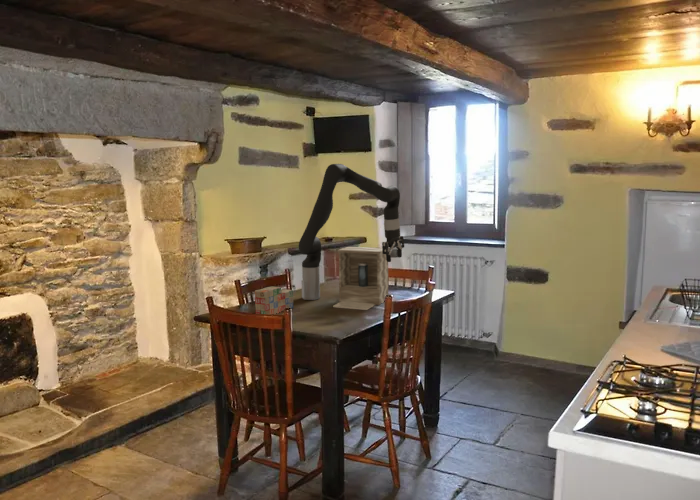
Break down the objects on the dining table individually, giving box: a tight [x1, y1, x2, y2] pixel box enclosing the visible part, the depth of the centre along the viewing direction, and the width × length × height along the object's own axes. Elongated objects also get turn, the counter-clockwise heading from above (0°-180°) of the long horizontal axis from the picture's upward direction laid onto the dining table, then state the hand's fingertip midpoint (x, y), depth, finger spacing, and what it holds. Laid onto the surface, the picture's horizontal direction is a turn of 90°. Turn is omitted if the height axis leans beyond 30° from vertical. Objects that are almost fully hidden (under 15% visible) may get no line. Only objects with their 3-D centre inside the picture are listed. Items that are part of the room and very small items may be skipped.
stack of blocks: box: [254, 286, 294, 315], centre depth 275 cm, size 21×6×12 cm, turn 148°
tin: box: [358, 262, 368, 287], centre depth 296 cm, size 5×5×12 cm
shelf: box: [337, 246, 389, 306], centre depth 297 cm, size 15×23×27 cm, turn 67°
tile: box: [332, 301, 375, 311], centre depth 286 cm, size 11×18×1 cm, turn 67°
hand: (394, 259), depth 281 cm, fingers open, 8 cm apart
